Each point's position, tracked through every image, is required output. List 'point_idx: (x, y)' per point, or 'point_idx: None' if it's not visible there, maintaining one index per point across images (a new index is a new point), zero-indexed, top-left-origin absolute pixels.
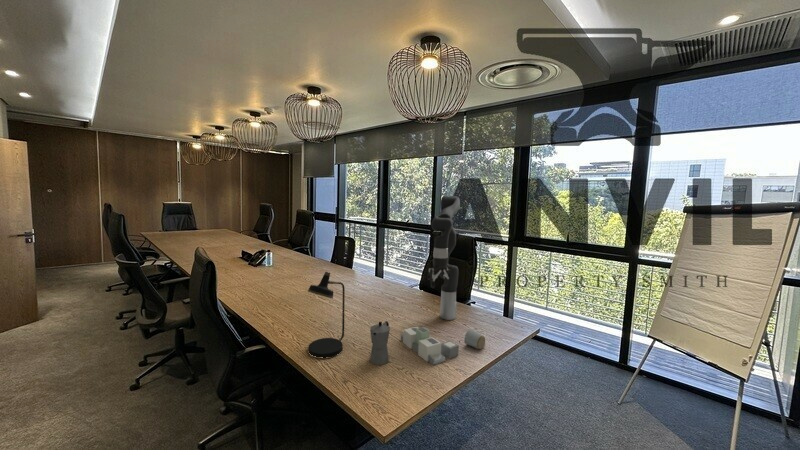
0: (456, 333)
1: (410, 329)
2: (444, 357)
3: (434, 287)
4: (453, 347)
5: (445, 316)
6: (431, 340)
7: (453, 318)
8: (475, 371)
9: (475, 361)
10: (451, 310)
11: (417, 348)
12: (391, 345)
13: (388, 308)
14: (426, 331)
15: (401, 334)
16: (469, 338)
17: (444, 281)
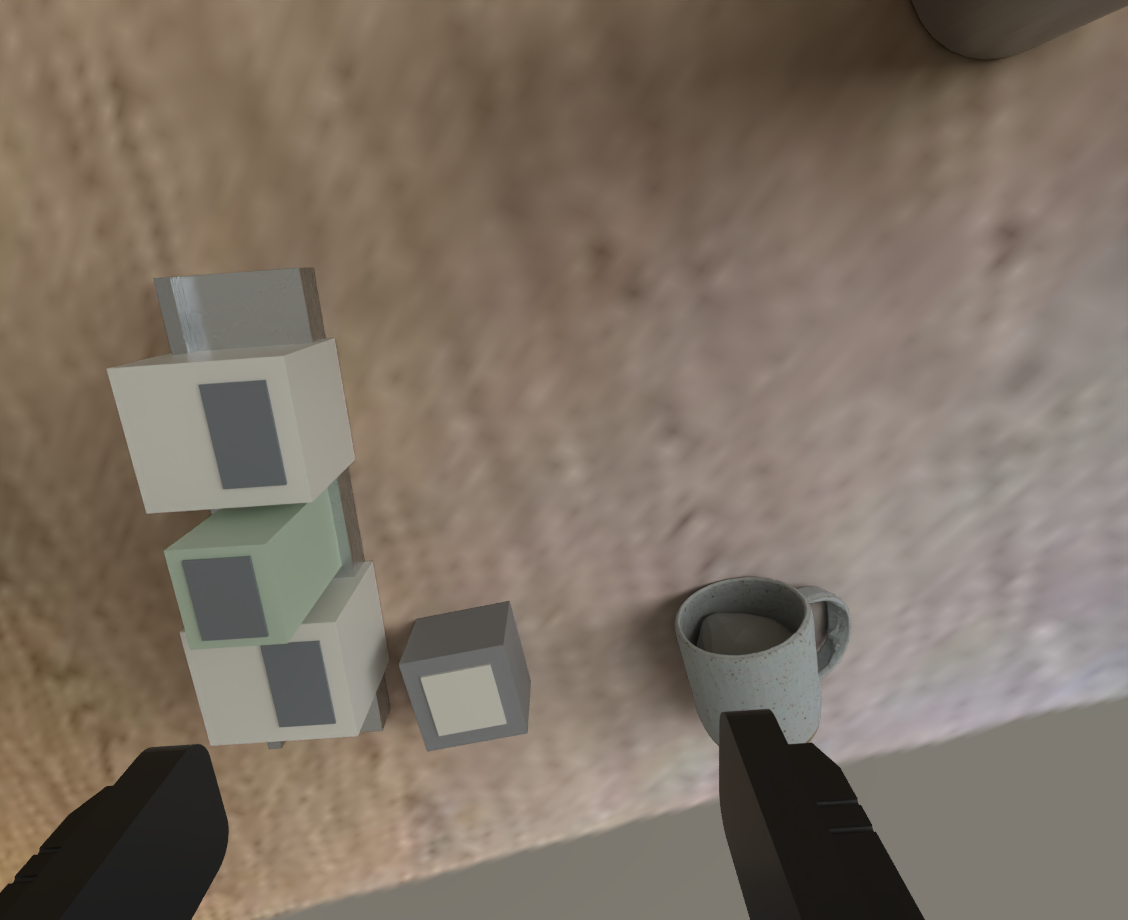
0: (769, 386)
1: (186, 394)
2: (376, 730)
3: (212, 872)
4: (465, 742)
5: (940, 2)
6: (291, 678)
7: (1019, 52)
8: (507, 853)
9: (586, 779)
10: (1060, 16)
11: None
12: (69, 348)
13: None
14: (249, 641)
15: (158, 292)
16: (693, 680)
17: (765, 844)
